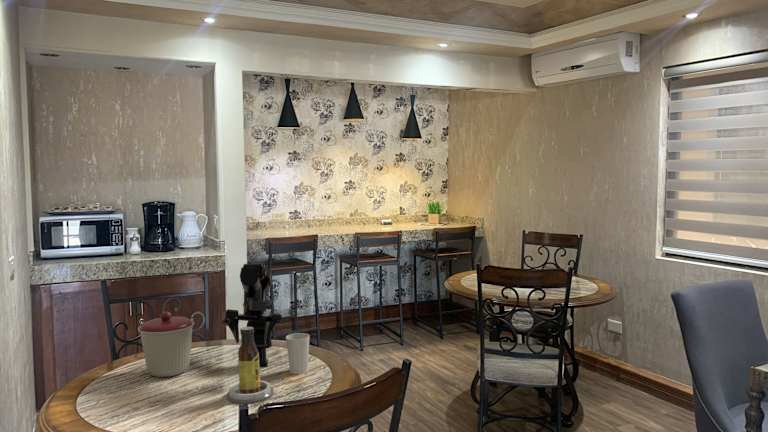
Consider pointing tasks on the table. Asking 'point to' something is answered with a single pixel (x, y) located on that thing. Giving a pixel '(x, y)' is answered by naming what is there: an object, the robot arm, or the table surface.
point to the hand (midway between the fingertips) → (251, 343)
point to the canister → (167, 344)
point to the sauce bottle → (248, 362)
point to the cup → (298, 352)
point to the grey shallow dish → (263, 394)
